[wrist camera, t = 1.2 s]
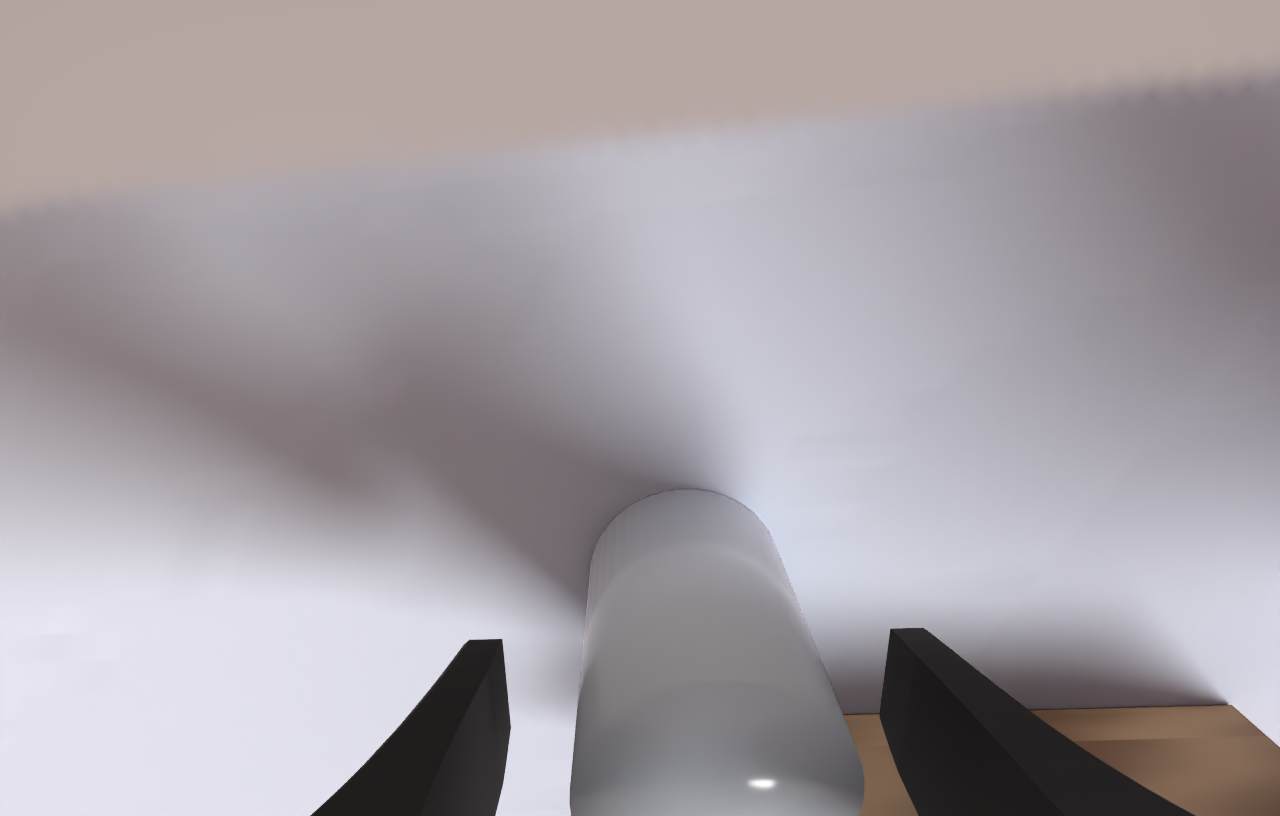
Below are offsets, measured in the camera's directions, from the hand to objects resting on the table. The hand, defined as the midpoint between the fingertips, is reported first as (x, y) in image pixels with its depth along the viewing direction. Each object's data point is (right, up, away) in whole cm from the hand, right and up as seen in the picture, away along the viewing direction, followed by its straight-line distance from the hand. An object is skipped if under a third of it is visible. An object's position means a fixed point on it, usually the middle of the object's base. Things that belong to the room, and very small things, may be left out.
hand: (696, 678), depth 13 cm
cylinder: (0, +1, +3) cm, 3 cm away
